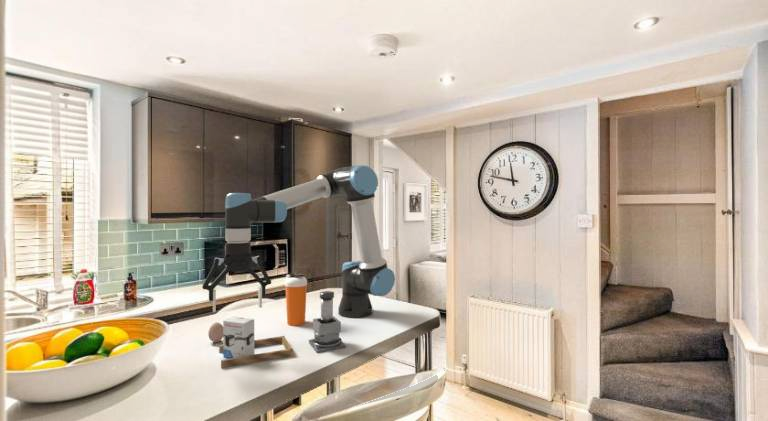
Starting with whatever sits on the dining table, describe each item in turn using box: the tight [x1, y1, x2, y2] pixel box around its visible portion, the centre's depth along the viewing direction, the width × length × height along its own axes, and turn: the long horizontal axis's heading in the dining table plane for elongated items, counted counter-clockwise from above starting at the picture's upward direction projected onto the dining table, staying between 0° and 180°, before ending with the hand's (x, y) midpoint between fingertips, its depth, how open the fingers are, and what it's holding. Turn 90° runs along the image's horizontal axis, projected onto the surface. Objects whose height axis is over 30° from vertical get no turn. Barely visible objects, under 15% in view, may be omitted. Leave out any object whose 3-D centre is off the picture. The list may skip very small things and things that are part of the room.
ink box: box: [222, 316, 256, 359], centre depth 121 cm, size 8×5×12 cm, turn 70°
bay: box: [218, 335, 294, 369], centre depth 123 cm, size 21×14×2 cm, turn 116°
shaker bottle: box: [284, 272, 308, 327], centre depth 154 cm, size 9×9×20 cm
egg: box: [207, 321, 223, 343], centre depth 133 cm, size 5×5×7 cm
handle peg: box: [319, 290, 335, 324], centre depth 130 cm, size 5×5×13 cm
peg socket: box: [308, 315, 347, 354], centre depth 130 cm, size 10×10×8 cm
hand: (237, 308), depth 120 cm, fingers open, 13 cm apart
